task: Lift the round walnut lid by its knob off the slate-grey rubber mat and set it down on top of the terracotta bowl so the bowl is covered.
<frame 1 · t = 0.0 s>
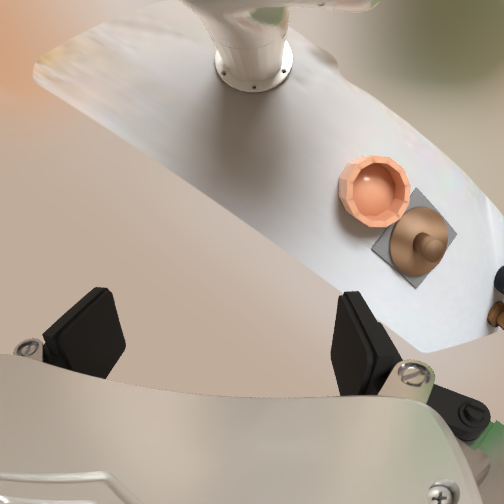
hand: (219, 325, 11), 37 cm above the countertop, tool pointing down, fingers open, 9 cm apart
mat: (417, 240, 46), on the countertop
bowl: (369, 188, 44), on the countertop
wine bottle: (501, 277, 47), on the countertop
lid: (418, 241, 45), resting on mat
dark brown knobbed cylinder: (495, 312, 50), on the countertop
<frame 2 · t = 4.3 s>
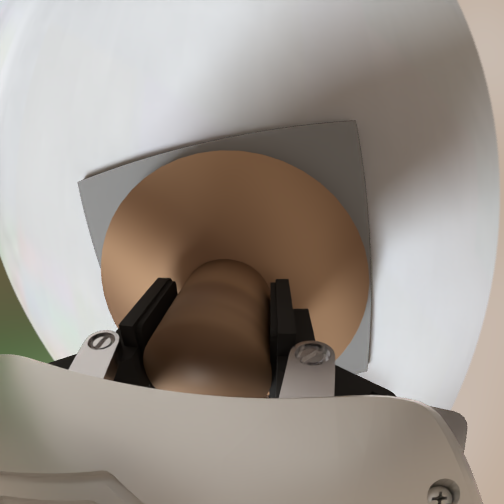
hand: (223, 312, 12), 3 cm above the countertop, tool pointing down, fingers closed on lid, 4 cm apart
mat: (231, 284, 14), on the countertop
lid: (230, 289, 14), point 1 cm above the countertop, touching gripper, mat
when the fingers open (8 cm above the countertop, at t = 9.3 s): lid stays where it is, resting on bowl.
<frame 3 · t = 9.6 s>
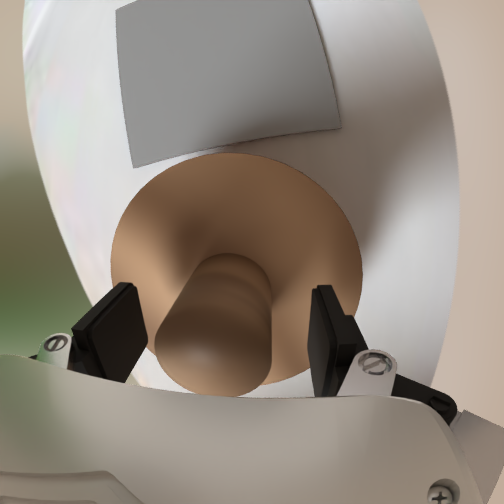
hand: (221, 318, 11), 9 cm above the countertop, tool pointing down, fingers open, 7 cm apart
mat: (215, 49, 15), on the countertop
lid: (232, 282, 15), point 5 cm above the countertop, touching bowl
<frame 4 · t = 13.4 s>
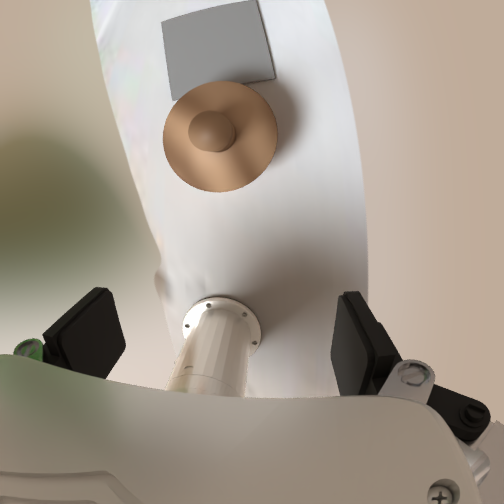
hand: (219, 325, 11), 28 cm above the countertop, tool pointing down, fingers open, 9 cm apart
mat: (214, 45, 30), on the countertop
lid: (219, 135, 30), point 5 cm above the countertop, touching bowl
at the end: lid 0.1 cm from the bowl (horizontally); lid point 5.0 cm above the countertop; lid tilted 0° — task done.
